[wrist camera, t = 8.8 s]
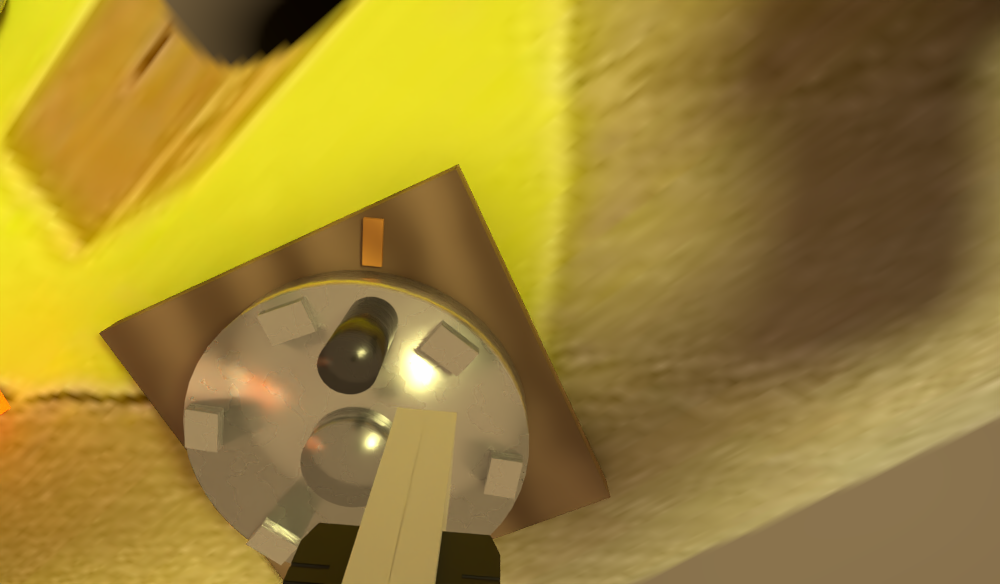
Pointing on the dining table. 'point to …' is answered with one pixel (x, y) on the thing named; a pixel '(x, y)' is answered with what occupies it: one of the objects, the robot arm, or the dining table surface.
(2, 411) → the orange juice
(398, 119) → the dining table surface
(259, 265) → the base plate
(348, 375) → the crank wheel
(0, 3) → the cup
